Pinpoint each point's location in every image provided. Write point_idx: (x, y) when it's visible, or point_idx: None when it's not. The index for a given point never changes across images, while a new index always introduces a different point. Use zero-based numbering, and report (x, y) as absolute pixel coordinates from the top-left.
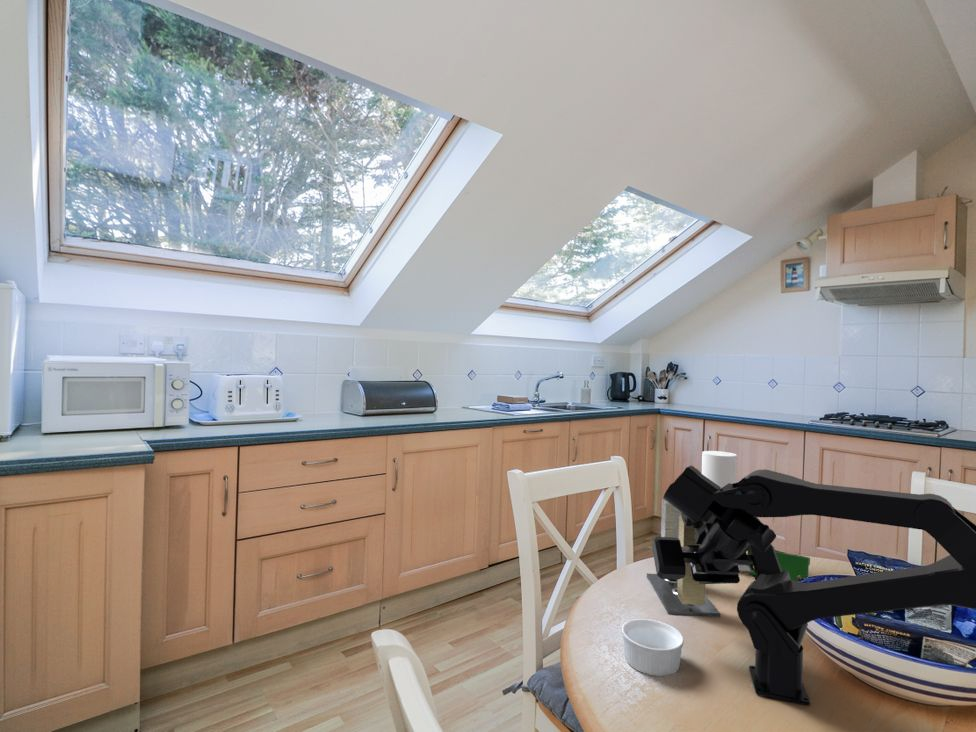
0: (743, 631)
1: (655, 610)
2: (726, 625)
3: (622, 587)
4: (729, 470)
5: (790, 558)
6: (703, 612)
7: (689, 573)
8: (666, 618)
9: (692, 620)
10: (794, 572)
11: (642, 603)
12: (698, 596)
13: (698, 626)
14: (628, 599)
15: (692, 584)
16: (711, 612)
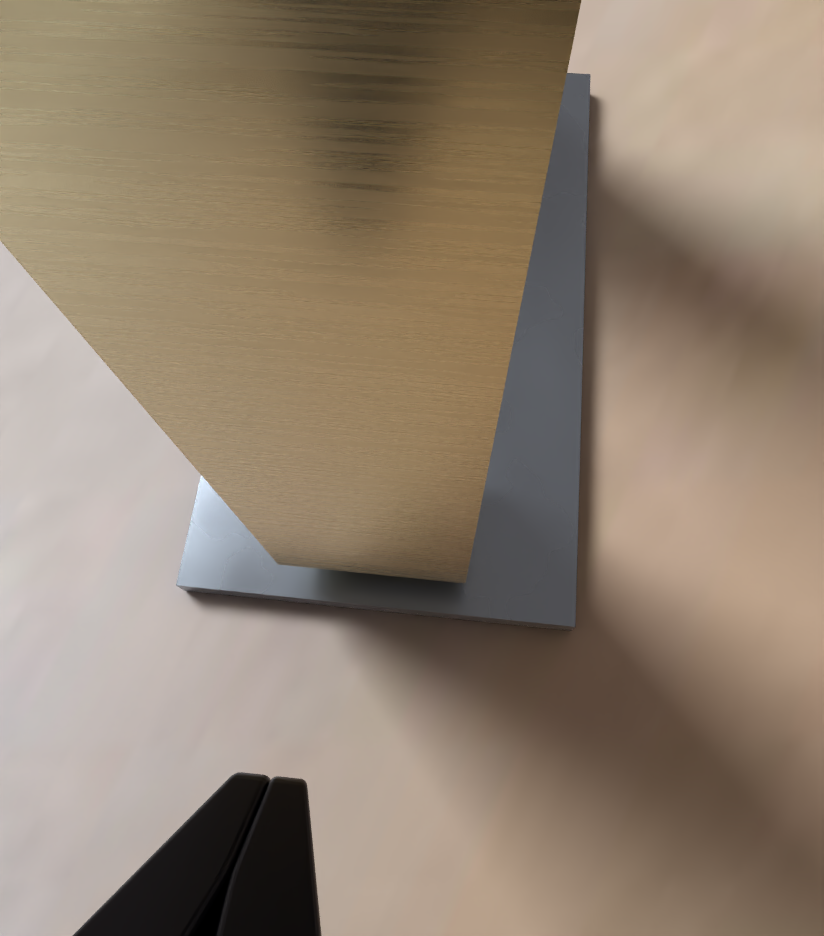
0: (667, 877)
1: (117, 536)
2: (565, 771)
3: None
4: None
5: None
6: (444, 612)
7: (280, 480)
8: (136, 660)
9: (325, 690)
10: None
11: (76, 434)
12: (408, 560)
13: (327, 791)
14: (7, 380)
15: (338, 522)
16: (511, 610)
